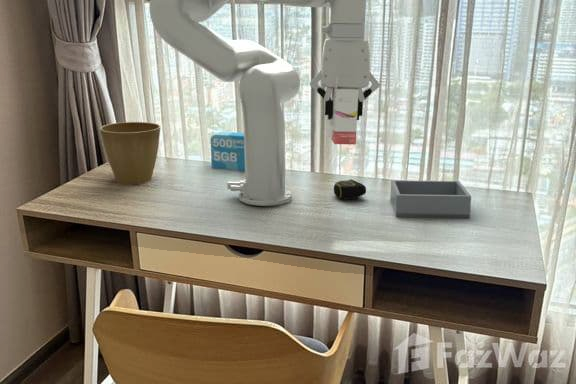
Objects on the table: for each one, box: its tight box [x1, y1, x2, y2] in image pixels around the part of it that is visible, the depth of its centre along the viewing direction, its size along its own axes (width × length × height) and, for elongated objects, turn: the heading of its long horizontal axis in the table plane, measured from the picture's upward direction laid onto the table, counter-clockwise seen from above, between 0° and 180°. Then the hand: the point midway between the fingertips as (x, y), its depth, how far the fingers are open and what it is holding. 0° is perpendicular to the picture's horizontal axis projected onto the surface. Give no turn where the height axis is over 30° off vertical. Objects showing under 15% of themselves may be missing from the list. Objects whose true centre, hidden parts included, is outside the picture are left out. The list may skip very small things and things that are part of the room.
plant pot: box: [99, 121, 161, 186], centre depth 157 cm, size 15×15×16 cm
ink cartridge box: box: [328, 74, 359, 145], centre depth 131 cm, size 9×5×15 cm, turn 4°
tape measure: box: [333, 178, 367, 200], centre depth 147 cm, size 7×7×4 cm
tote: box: [389, 179, 472, 219], centre depth 139 cm, size 16×13×5 cm
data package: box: [210, 131, 245, 172], centre depth 168 cm, size 12×4×12 cm, turn 73°
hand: (343, 118), depth 132 cm, fingers closed on ink cartridge box, 5 cm apart
